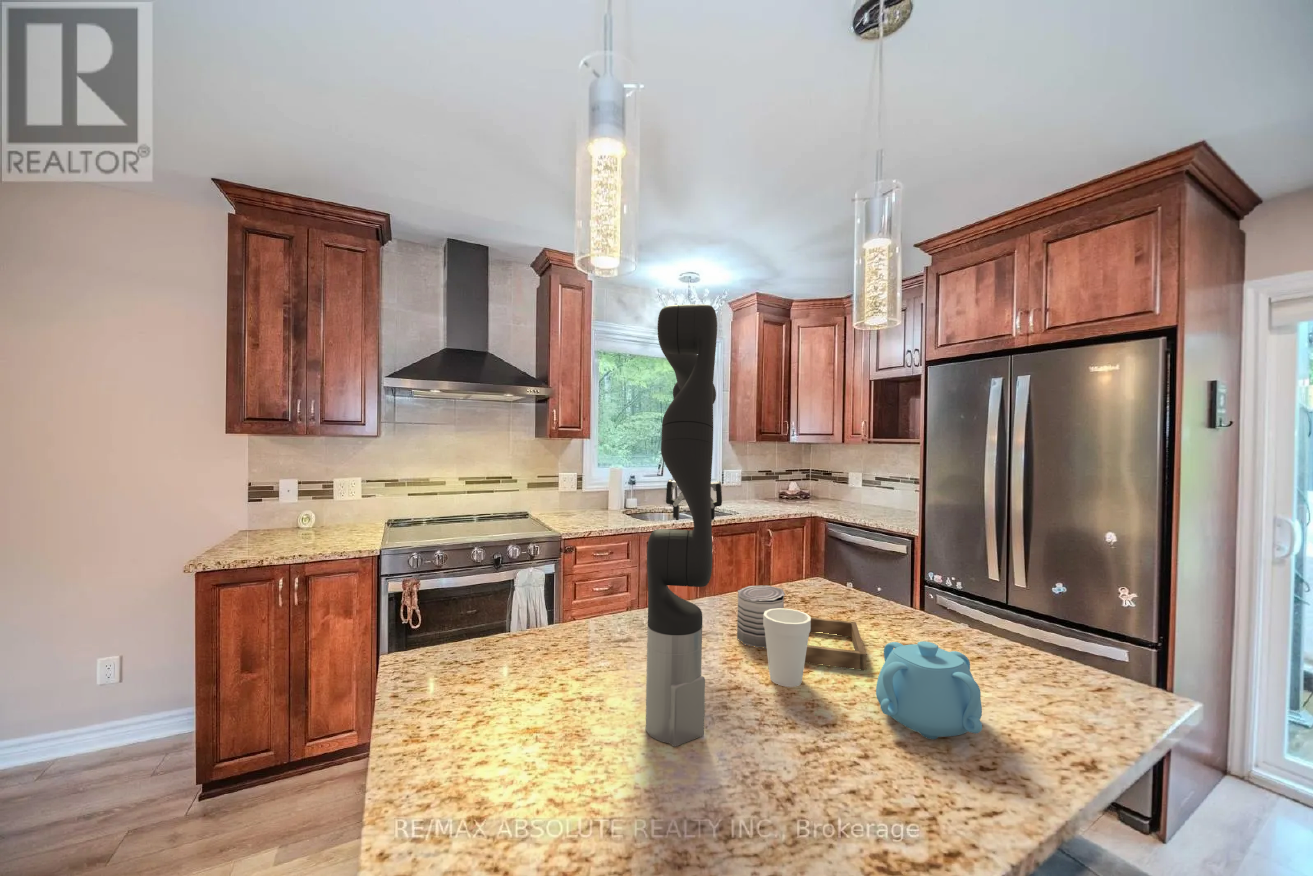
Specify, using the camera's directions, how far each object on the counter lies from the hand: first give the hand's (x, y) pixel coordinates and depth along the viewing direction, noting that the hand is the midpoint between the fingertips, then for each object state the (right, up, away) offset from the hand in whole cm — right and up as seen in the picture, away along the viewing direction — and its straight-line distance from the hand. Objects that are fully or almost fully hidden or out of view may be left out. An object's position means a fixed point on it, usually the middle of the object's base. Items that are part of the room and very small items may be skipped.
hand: (693, 520), depth 132 cm
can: (+16, -28, -7) cm, 33 cm away
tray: (+28, -28, -10) cm, 41 cm away
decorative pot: (+38, -29, -43) cm, 64 cm away
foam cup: (+17, -28, -28) cm, 43 cm away
